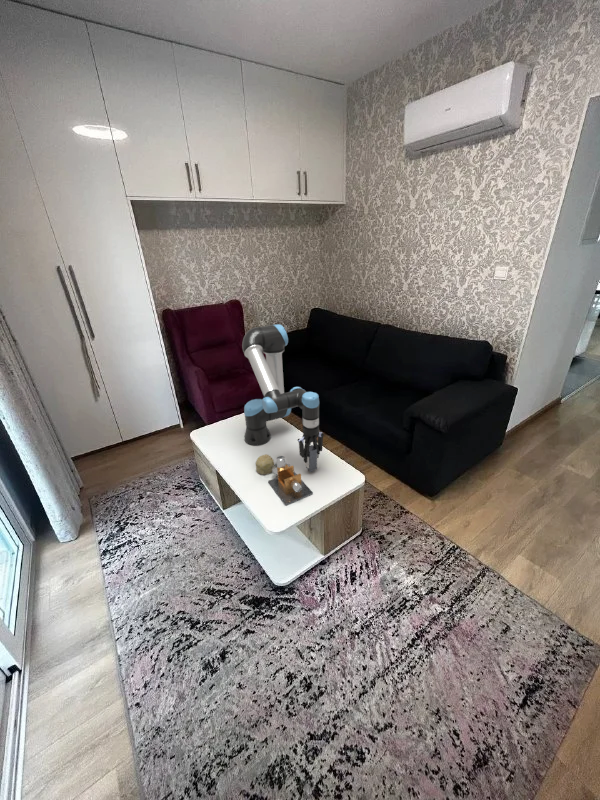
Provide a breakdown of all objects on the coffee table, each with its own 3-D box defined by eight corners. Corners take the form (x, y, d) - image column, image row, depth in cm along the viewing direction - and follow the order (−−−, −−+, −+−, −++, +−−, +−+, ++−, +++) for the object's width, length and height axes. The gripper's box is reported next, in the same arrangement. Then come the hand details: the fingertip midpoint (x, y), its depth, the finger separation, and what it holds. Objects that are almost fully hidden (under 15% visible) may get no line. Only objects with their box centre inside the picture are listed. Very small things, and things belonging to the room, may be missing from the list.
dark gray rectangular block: (305, 467, 164) (305, 447, 159) (312, 464, 166) (312, 444, 161) (309, 471, 161) (309, 451, 156) (316, 469, 163) (316, 449, 157)
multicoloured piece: (265, 478, 160) (263, 458, 155) (290, 469, 166) (289, 449, 161) (285, 505, 143) (283, 484, 138) (312, 494, 149) (312, 473, 144)
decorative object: (262, 482, 164) (271, 471, 158) (248, 467, 165) (256, 456, 160) (272, 472, 171) (281, 461, 166) (259, 459, 173) (267, 448, 167)
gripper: (298, 433, 146) (299, 475, 156) (330, 423, 153) (329, 463, 163) (290, 426, 151) (292, 466, 162) (321, 416, 159) (321, 455, 169)
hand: (311, 465), depth 163 cm, fingers closed on dark gray rectangular block, 4 cm apart
